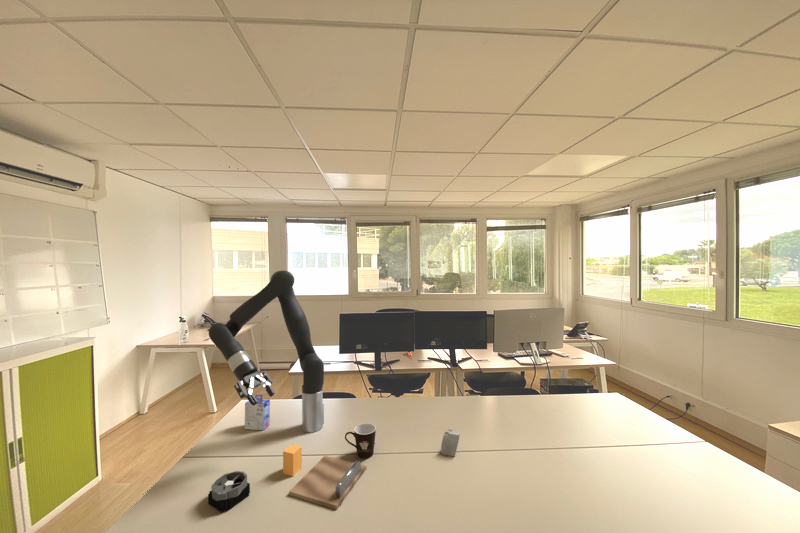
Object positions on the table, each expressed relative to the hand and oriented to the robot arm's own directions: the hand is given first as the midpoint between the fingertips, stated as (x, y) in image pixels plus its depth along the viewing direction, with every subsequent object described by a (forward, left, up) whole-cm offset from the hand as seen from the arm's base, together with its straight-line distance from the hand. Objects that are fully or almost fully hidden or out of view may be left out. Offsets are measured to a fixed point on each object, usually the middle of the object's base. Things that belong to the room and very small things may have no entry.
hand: (264, 399), depth 114 cm
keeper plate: (0, +29, -24) cm, 38 cm away
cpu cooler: (+17, +2, -25) cm, 30 cm away
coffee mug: (-18, +32, -25) cm, 44 cm away
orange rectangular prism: (0, +13, -24) cm, 27 cm away
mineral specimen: (-31, +65, -25) cm, 76 cm away
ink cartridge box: (-20, -24, -25) cm, 40 cm away
